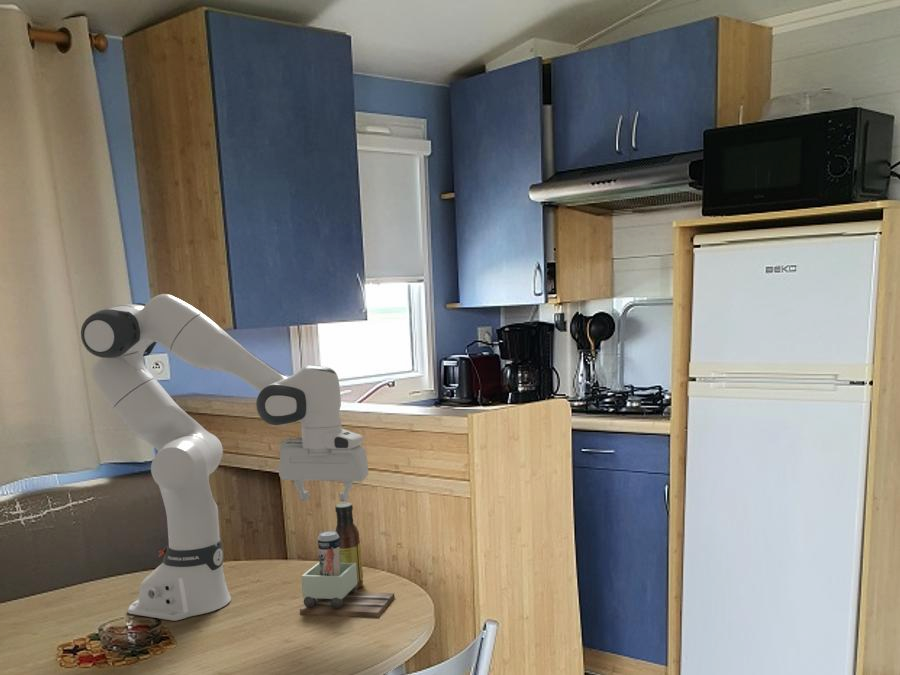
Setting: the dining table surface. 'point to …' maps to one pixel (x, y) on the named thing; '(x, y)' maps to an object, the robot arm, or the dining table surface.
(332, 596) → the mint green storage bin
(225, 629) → the dining table surface
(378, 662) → the dining table surface
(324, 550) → the beer can
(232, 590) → the dining table surface
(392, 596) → the walnut track
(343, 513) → the sauce bottle
